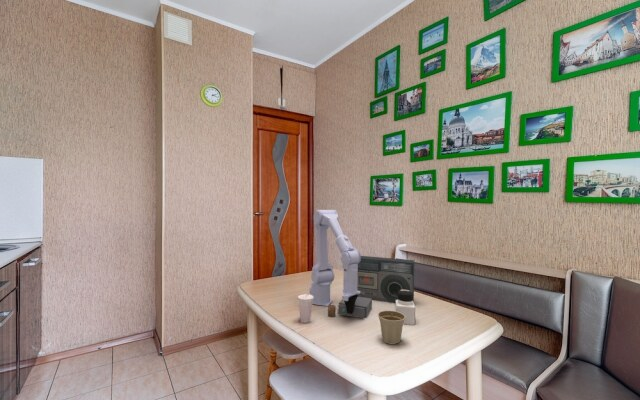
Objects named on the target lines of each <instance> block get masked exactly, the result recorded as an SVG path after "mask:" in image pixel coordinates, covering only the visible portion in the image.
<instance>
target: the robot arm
mask: <svg viewBox="0 0 640 400" xmlns="http://www.w3.org/2000/svg"><path fill="white" fill-rule="evenodd" d="M313 227H314V228H315V236H316V237H315V241H316V242H315V243H316V261H317V262H316V264H314V265H313V266H312V268H311V280H312V281H311V284H310V286H309V295H312V296H314V300H313V303H312V305H317V306H324V307H328V305H331V303H333V301H334V299H331V284H332V283H333V281H334V279H335V272H334V268H333V266H332V264H331V263H329V251H328V231H327V230H328V229H329V228H330V231H331V232H332V234H333V235H334V237H335V244H336V246H337V248H338V250H339V252H340V254H341V256H340V261H341V263H342V265H341V266H342V267H341V268H342V269H343V280H342V281H343V283H342V284H343V289H342V294H343V295H342V298H341V299H343V301H344V302H345V305H346V310H347V313H349V314H352V313H353V310H354V306H355V302H356V299H357V297H358V295H357V294H360V291H358V290H357V282H358V263H360V261H361V256H362V255H361V253H360V251H359V250H358V249H356V248H355V247H354V246H353V244H352V243H351V241H350V238H349V237H348V235H345V234H344V233H343V230H342V228H341V225H340V223H339V214H338V212H337V210H336V209H316V210H315V211H314V213H313Z"/></svg>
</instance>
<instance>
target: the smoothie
mask: <svg viewBox="0 0 640 400" xmlns="http://www.w3.org/2000/svg"><path fill="white" fill-rule="evenodd" d="M297 300H298V308H299V317H300V318H299V319H300V322H301V323H305V324H307V323H310V322H311V316H312V315H311V314H312V311H313V309H312V308H313V304H312V303H313V300H314V296H312V295H310V293H309V294H308V286H307V285H305V293H304V294H299V295H298V296H297Z"/></svg>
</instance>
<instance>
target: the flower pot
mask: <svg viewBox="0 0 640 400" xmlns="http://www.w3.org/2000/svg"><path fill="white" fill-rule="evenodd" d="M377 316H378V319H379V325H380V332H381V340H382V341H384V342H385V343H387V344H389V345H396V344H399V343H400V342H401V339H402V333H403V325H404V324H403V323H404V320H405V315H404V314H402V313H400V312H397V311H395V310H382V311H379V312H377Z"/></svg>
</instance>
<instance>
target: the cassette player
mask: <svg viewBox="0 0 640 400" xmlns="http://www.w3.org/2000/svg"><path fill="white" fill-rule="evenodd" d="M357 290H358V291H360V294H357V295H358V297H365V298H372V301H375V302H382V303H390V304H396V300H397V298H398V291H400V290H408V291H411V292H412V293H413V302H415V260H414V259H404V258H403V259H402V258H391V257H381V256H380V257H379V256H367V255H361V261H360V263H358V282H357Z"/></svg>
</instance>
